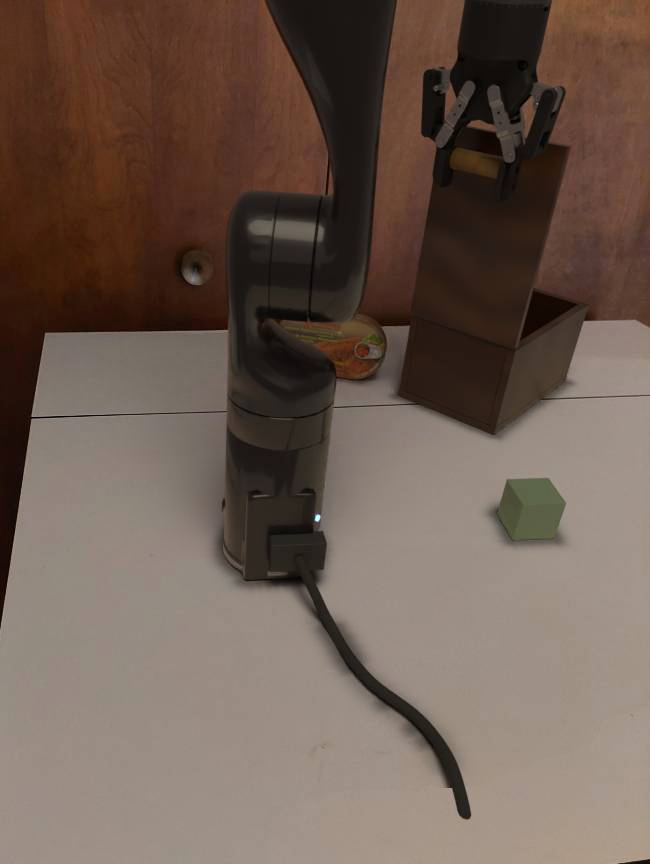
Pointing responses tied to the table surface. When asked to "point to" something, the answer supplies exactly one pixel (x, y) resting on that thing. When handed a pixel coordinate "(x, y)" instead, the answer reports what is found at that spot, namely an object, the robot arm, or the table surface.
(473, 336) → the chest
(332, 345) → the tin
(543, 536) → the block
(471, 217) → the lid
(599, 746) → the table surface
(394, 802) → the table surface
